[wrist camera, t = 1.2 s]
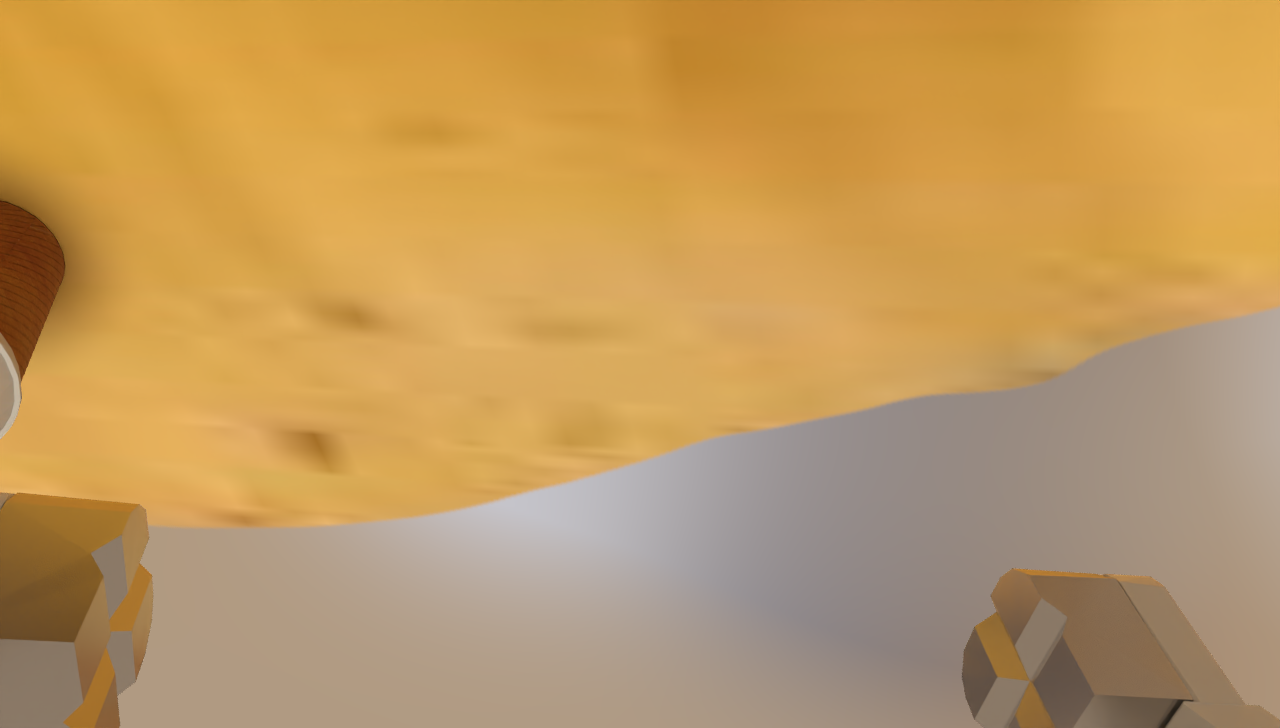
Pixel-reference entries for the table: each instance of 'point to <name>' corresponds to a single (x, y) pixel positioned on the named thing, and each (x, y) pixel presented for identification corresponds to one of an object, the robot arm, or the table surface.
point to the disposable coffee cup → (23, 298)
